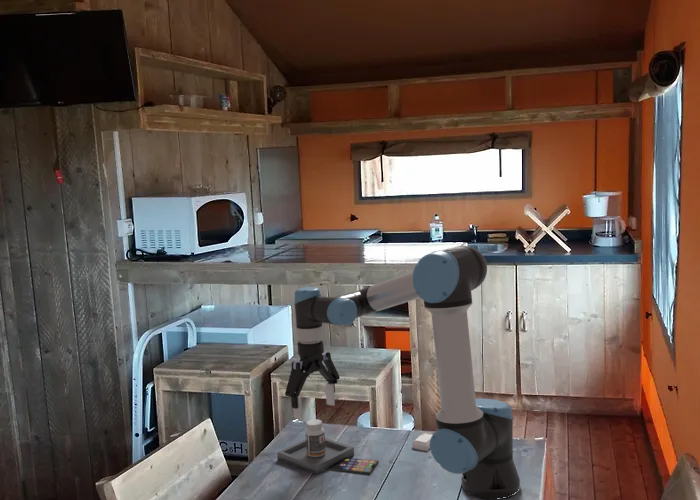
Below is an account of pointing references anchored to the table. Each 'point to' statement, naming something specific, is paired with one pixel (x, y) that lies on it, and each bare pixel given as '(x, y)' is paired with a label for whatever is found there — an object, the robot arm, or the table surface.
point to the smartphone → (354, 466)
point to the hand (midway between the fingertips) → (314, 411)
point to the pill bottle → (315, 439)
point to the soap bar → (423, 441)
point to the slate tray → (300, 459)
